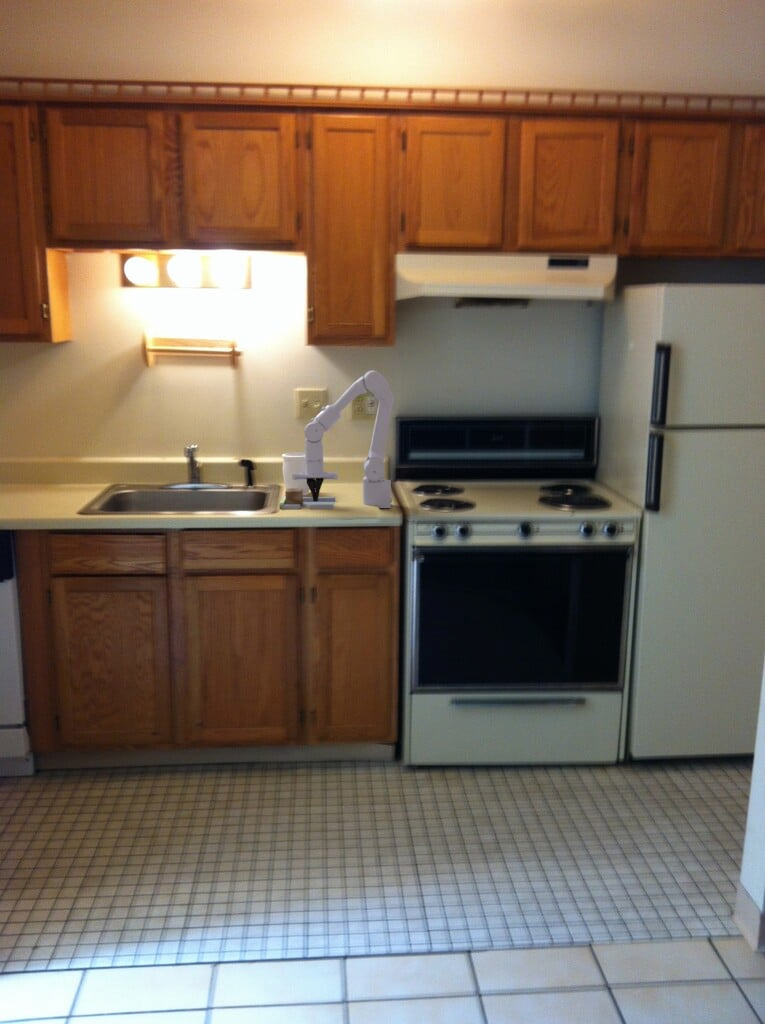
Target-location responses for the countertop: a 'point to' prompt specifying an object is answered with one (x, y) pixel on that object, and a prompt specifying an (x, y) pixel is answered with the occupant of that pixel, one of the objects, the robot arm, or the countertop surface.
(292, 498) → the walnut block
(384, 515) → the countertop surface
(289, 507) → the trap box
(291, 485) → the jar
